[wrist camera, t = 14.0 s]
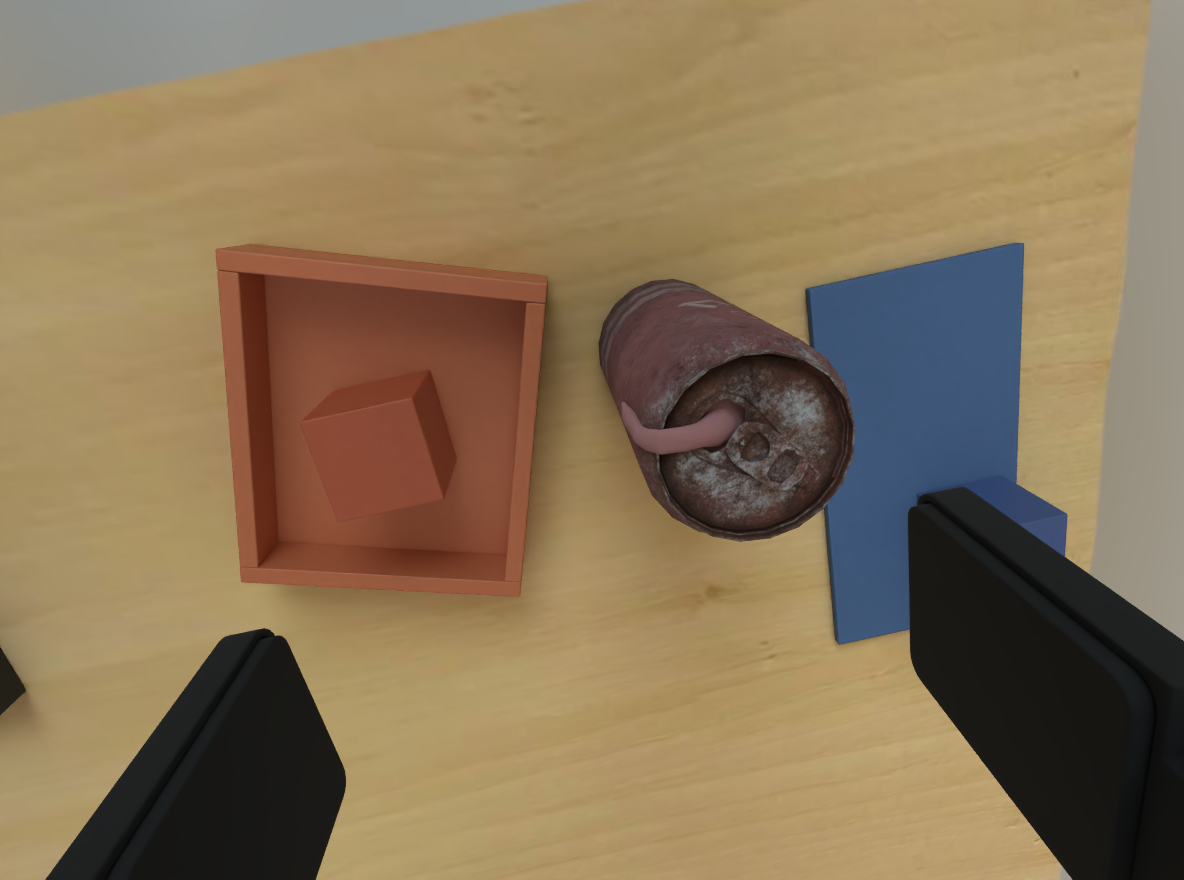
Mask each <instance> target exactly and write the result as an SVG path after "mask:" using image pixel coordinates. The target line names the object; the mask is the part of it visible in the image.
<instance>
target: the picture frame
mask: <svg viewBox="0 0 1184 880" xmlns="http://www.w3.org/2000/svg"><path fill="white" fill-rule="evenodd" d="M24 692H25V689H24V687H23V686H22V684H21V682H20V681H19V679H18V677H17V676H16V674H15V672H14V671H13V669H12V668H11V666H10V664H9V663H8V661H7V659H6V658H5V656H4V654H3V653H2V651H1V650H0V715H1V714H2V713H3V712H4V711H5V710H6V709H7V708H8V707H9V706H10V705H11V704H13V703H14V702H15V701H16V700H17V699H18V698H19V697H20V696H21V695H22V694H23V693H24Z"/></svg>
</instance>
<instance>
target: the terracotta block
mask: <svg viewBox="0 0 1184 880" xmlns="http://www.w3.org/2000/svg"><path fill="white" fill-rule="evenodd" d="M300 426H301V429H302V431H303V434H304V436H305V439H306V442H307V444H308V447H309V449H310V452H311V455H312V457H313V460H314V462H315V465H316V468H317V470H318V473H319V475H320V478H321V480H322V483H323V486H324V488H325V491H326V493H327V496H328V499H329V501H330V504H331V506H332V509H333V512H334V514H335V517H336V519H337V522H338V523H340V522H344V521H349V520H353V519H358V518H363V517H367V516H372V515H376V514H381V513H385V512H390V511H395V510H399V509H404V508H408V507H413V506H417V505H422V504H426V503H431V502H436V501H440V500H443V499H444V498H445V495H446V492H447V489H448V486H449V482H450V479H451V476H452V473H453V470H454V467H455V463H456V460H457V458H456V454H455V451H454V448H453V444H452V441H451V438H450V434H449V431H448V428H447V425H446V421H445V418H444V415H443V411H442V408H441V405H440V401H439V398H438V395H437V391H436V388H435V385H434V381H433V378H432V375H431V371H430V370H426V371H422V372H417V373H413V374H408V375H403V376H399V377H394V378H390V379H385V380H380V381H376V382H371V383H367V384H362V385H358V386H353V387H348V388H344V389H339V390H335V391H333V392H332V393H331V394H329V395H328V396H327V397H326V398H325V399H324V400H323V401H322V402H321V403H320V404H319V405H318V406H316V407H315V408H314V409H313V410H312V411H311V412H310V413H309V414H308V415H307V416H306V417H305V418H303V419H302V420H301V421H300Z"/></svg>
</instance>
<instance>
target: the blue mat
mask: <svg viewBox="0 0 1184 880" xmlns="http://www.w3.org/2000/svg"><path fill="white" fill-rule="evenodd" d="M1023 263H1024V243H1013V244H1009V245H1004V246H1000V247H995V248H990V249H986V250H981V251H977V252H972V253H968V254H963V255H958V256H954V257H949V258H945V259H940V260H936V261H931V262H926V263H922V264H917V265H913V266H908V267H903V268H899V269H894V270H890V271H885V272H881V273H876V274H871V275H867V276H862V277H858V278H853V279H849V280H844V281H839V282H835V283H830V284H826V285H821V286H817V287H812V288H807V289H806V297H807V308H808V320H809V332H810V344H811V347H812V348H813V349H815V350H816V351H818V352H820V353H821V354H823V355H824V356H826V357H827V359H828V360H829V362H830V363H831V364H832V366H833V367H834V368H835V370H836V371H837V373H838V374H839V375H840V377H841V378H842V379H843V381H844V382H845V385H846V389H847V393H848V396H849V400H850V403H851V407H852V410H853V419H854V423H855V441H854V456H853V458H852V461H851V464H850V466H849V469H848V471H847V474H846V476H845V479H844V481H843V484H842V485H841V486H840V488H839V489H838V490H837V492H836V493H835V494H834V496H833V497H832V498H831V499H830V501H829V502H828V503H827V505H826V506H825V507H824V509H825V521H826V533H827V544H828V556H829V568H830V580H831V591H832V603H833V615H834V627H835V639H836V641H837V642H838V644H839V645H840V644H845V643H849V642H854V641H858V640H863V639H868V638H872V637H877V636H881V635H886V634H890V633H895V632H899V631H904V630H908V629H910V614H909V562H908V512H909V509H910V508H911V507H913V506H917V494H919V493H924V492H928V491H933V490H937V489H942V488H946V487H951V486H955V485H960V484H965V483H969V482H974V481H978V480H983V479H987V478H992V477H996V476H1004V477H1005V478H1007V479H1009V480H1010V481H1012V482H1014V483H1015V484H1016V480H1017V449H1018V418H1019V387H1020V356H1021V325H1022V294H1023Z"/></svg>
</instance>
